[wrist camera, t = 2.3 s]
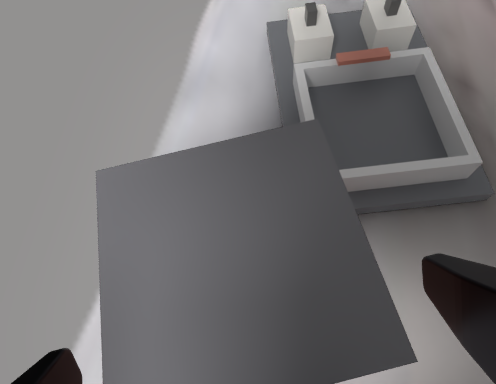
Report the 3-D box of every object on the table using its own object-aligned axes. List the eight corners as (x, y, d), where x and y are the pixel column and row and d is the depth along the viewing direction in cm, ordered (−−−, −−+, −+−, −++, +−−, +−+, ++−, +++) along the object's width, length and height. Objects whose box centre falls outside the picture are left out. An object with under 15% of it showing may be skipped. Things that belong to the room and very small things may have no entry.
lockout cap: (323, 367, 16) (416, 361, 5) (223, 393, 16) (104, 443, 5) (294, 269, 18) (317, 118, 7) (206, 291, 18) (96, 171, 7)
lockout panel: (486, 199, 19) (529, 164, 16) (298, 220, 19) (302, 190, 16) (404, 14, 26) (422, -37, 22) (266, 31, 26) (265, -16, 23)
